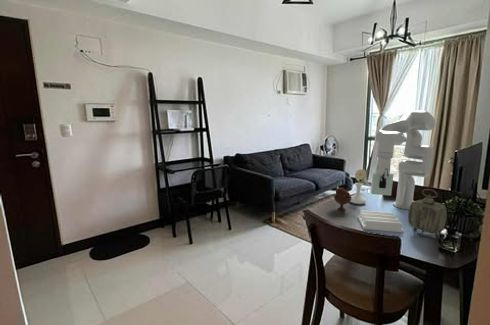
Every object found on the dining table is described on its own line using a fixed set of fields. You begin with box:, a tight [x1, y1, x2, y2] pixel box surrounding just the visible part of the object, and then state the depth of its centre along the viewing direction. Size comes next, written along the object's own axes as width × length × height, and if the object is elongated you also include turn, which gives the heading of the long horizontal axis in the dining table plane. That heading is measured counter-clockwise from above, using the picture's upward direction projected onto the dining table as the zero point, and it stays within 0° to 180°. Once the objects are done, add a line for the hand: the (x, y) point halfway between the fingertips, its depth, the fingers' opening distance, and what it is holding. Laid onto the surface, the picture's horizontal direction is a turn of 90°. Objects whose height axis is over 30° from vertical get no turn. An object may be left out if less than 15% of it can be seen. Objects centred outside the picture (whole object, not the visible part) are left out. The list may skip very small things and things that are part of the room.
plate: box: [370, 172, 394, 196], centre depth 147 cm, size 10×2×12 cm, turn 77°
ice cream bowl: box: [333, 187, 352, 213], centre depth 170 cm, size 11×11×15 cm
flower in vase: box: [349, 168, 367, 205], centre depth 182 cm, size 13×11×25 cm
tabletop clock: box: [407, 188, 448, 239], centre depth 134 cm, size 14×9×25 cm, turn 33°
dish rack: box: [357, 209, 404, 233], centre depth 149 cm, size 20×15×5 cm
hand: (381, 187), depth 147 cm, fingers closed on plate, 2 cm apart
